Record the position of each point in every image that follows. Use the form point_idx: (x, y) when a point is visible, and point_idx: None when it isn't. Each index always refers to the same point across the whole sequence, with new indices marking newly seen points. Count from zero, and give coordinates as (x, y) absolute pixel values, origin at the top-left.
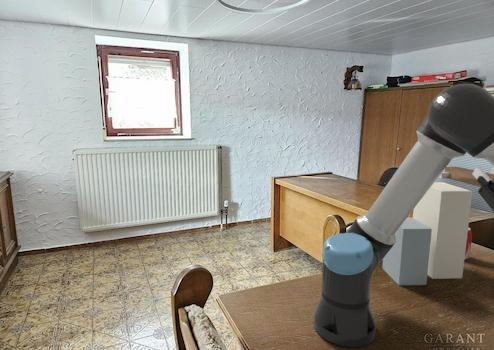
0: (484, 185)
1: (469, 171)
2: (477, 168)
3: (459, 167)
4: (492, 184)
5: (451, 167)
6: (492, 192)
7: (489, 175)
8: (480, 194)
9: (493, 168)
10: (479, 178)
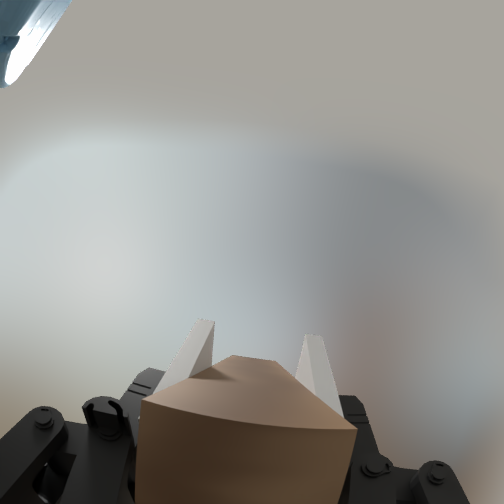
0: (36, 417)
1: (233, 364)
2: (193, 327)
3: (271, 361)
4: (124, 445)
5: (242, 357)
6: (2, 489)
7: (229, 380)
8: (38, 476)
9: (305, 346)
10: (136, 381)
